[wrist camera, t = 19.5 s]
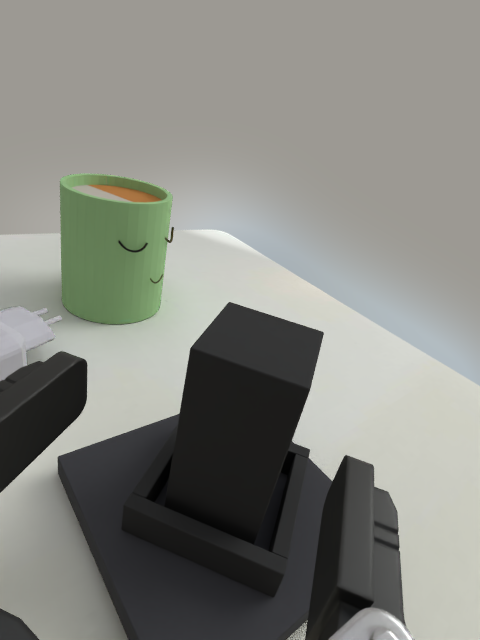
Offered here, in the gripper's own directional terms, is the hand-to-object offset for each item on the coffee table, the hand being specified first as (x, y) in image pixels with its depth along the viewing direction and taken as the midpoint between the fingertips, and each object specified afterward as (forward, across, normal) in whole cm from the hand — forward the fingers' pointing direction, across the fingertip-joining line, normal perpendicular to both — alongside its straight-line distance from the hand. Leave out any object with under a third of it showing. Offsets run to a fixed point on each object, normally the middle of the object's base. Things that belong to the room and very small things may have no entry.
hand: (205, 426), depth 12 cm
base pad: (+7, 0, -13) cm, 15 cm away
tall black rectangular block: (+7, 0, -12) cm, 13 cm away
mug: (+27, -18, -13) cm, 35 cm away
